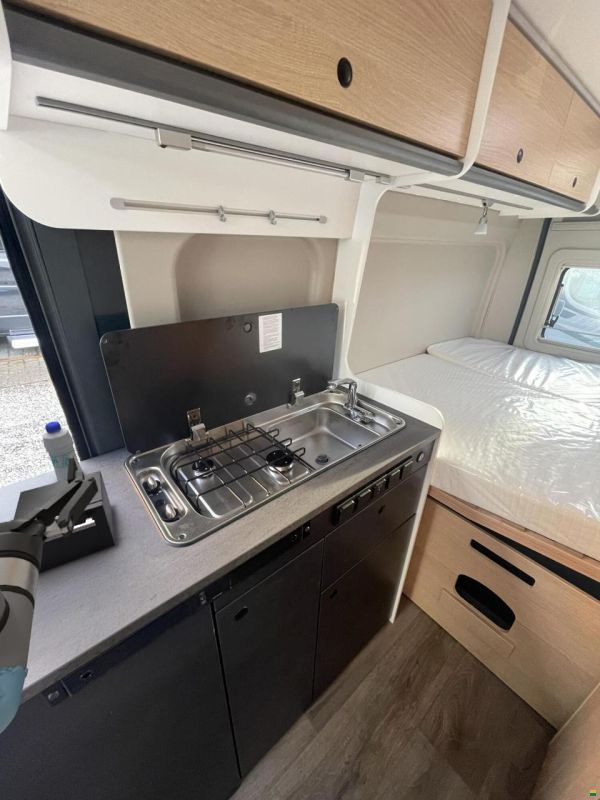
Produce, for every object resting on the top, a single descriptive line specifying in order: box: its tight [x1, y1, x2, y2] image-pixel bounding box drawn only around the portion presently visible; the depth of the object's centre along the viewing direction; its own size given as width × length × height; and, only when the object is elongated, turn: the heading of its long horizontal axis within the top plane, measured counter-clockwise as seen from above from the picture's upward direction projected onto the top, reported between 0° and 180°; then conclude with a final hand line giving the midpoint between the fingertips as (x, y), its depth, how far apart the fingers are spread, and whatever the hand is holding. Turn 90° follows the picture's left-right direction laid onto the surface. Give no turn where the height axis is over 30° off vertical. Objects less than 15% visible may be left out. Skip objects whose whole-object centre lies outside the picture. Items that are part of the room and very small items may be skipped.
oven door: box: [39, 501, 116, 574], centre depth 70 cm, size 5×16×13 cm, turn 121°
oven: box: [13, 470, 116, 541], centre depth 77 cm, size 12×16×13 cm
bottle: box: [42, 421, 83, 482], centre depth 94 cm, size 7×7×20 cm
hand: (24, 476), depth 54 cm, fingers open, 13 cm apart
